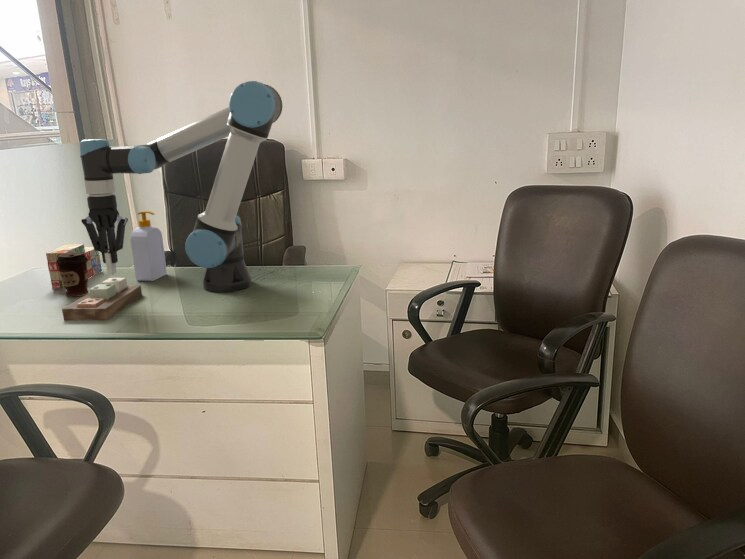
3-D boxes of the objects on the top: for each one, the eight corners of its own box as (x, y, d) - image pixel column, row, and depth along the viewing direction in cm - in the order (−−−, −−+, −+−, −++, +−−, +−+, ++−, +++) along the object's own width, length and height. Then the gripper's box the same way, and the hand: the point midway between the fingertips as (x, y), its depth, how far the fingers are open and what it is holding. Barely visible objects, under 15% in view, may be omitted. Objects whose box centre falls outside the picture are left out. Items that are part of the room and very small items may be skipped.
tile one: (127, 287, 170) (125, 277, 169) (119, 291, 165) (118, 281, 165) (111, 287, 170) (109, 277, 170) (103, 292, 166) (101, 281, 165)
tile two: (116, 294, 164) (114, 283, 163) (108, 299, 159) (106, 288, 158) (99, 294, 164) (98, 283, 163) (90, 299, 159) (89, 288, 158)
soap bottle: (154, 281, 187) (145, 213, 181) (135, 280, 188) (126, 213, 182) (169, 274, 195) (161, 209, 189) (151, 273, 197) (142, 209, 190)
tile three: (105, 308, 157) (104, 297, 157) (96, 314, 153) (94, 303, 152) (88, 308, 158) (86, 297, 157) (78, 314, 153) (76, 303, 152)
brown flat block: (142, 295, 172) (140, 285, 172) (107, 319, 151) (105, 308, 150) (104, 295, 173) (102, 285, 172) (63, 319, 152) (61, 308, 151)
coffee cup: (79, 299, 169) (72, 258, 166) (55, 298, 171) (48, 257, 167) (98, 291, 177) (92, 251, 174) (75, 289, 179) (68, 250, 176)
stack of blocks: (85, 271, 201) (79, 238, 198) (102, 271, 201) (97, 238, 198) (51, 289, 181) (45, 252, 177) (71, 289, 181) (64, 252, 177)
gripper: (129, 192, 163) (139, 270, 170) (85, 192, 164) (97, 270, 170) (117, 196, 156) (127, 277, 163) (71, 196, 157) (84, 276, 163)
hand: (112, 273), depth 167 cm, fingers closed
